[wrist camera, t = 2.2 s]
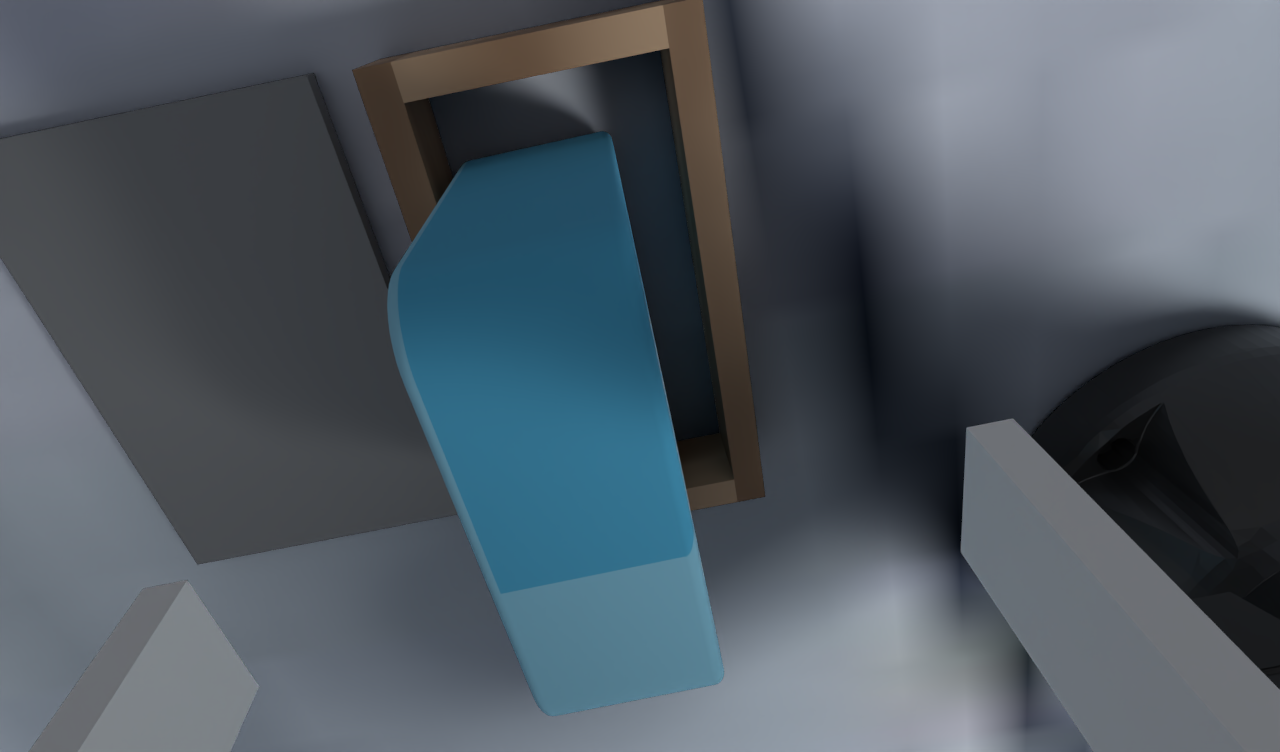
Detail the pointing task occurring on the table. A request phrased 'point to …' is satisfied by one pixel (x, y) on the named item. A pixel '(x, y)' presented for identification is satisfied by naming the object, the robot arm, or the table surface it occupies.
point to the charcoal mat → (224, 314)
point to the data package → (556, 424)
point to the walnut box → (679, 32)
